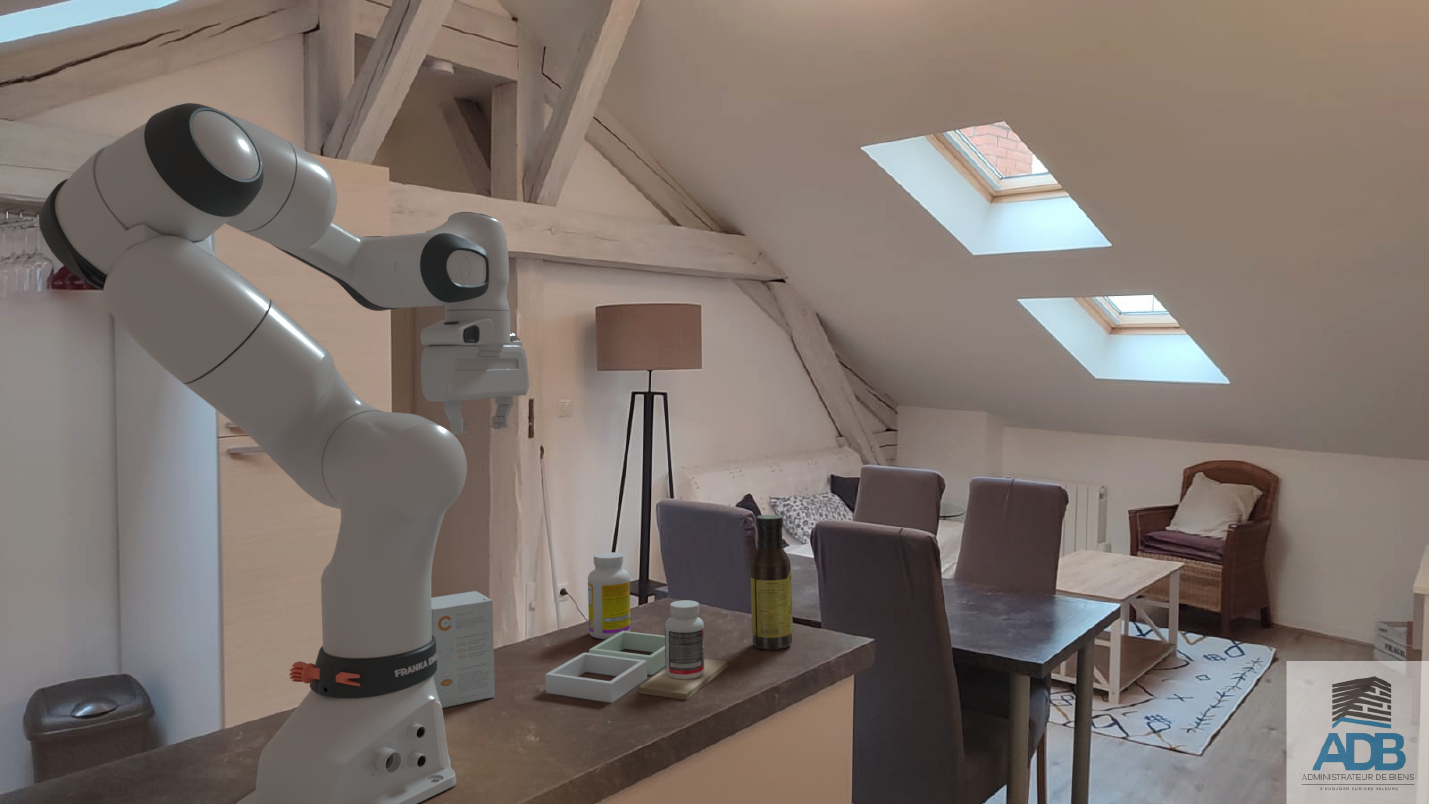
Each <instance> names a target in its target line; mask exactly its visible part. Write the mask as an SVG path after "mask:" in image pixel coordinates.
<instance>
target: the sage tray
mask: <svg viewBox="0 0 1429 804" xmlns="http://www.w3.org/2000/svg"><path fill="white" fill-rule="evenodd" d="M623 650H631V651H632V650H633V651H639V652H640V651H641V652H649V653H651V654H650V655H648V654H641V653H634V652H627V651H626V652H625V651H623ZM588 651H589V652H588V653H592V654H600V655H607V656H615V657H623V658H630V659H638V660H646V661H647V676H653V675H654V674H657V672H660V671H661V669H662V670H663V669H664V668H665V635H663V634H661V635H660V634H653V633H644V632H638V631H637V632H636V631H630V632H629V631H621V632H619V633H617V634H616V635H614V636H612V637H610V638H609V639H604V640H603V641H602V642H600V643H598V644H596V645H595V646H593V647H591V648H589V650H588Z"/></svg>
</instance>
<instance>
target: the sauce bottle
mask: <svg viewBox="0 0 1429 804" xmlns="http://www.w3.org/2000/svg"><path fill="white" fill-rule="evenodd" d="M755 518H756V519H755V520H756V524H755V525H756V527H757V542H756V543H757V548H756V550H755V551H754V553H753V554H752V557H751V560H750V604H751V605H750V607H751V633H752V645H753V646H754V647H755V648H757V649H759V650H765V651H775V650H781V649H785V648H787V647H790V646H791V645H792V642H793V636H792V635H793V630H794V629H793V602H792V601H793V600H792V599H793V597H792V596H793V595H792V594H793V593H792V566H791V560H790V557H789V556H788V554H787V553H786V551H785V549H784V548H783V544H784V542H783V530H782V529H783V525H784V518H783V516H781V515H777V514H761V515H757V516H756V517H755Z"/></svg>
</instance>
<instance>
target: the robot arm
mask: <svg viewBox="0 0 1429 804" xmlns="http://www.w3.org/2000/svg"><path fill="white" fill-rule="evenodd" d="M337 194H338V192H337V188H336V183H335V180H334V177H333V175H332V173H331V172H330V170H329V168H327V167H326V166H325V165H324V164H323V163H322V162H321V161H320V160H319V159H317V158H316V157H314V155H312V154H310V153H309V152H308V151H307V150H304V149H303V148H301V146H300V147H299V146H298V145H297V144H294V143H293V142H291V141H289V140H287V139H286V138H283V137H281V136H280V135H278V134H276V133H274V132H272V131H270V130H269V129H266V128H264V127H262V126H260V125H257V124H255V123H253V122H251V121H249V120H247V119H244V118H242V117H239V116H237V115H234V114H231V113H228V112H225V111H223V110H219V109H217V108H214V107H212V106H207V105H204V104H202V103H201V104H200V103H192V102H187V103H181V104H177V105H174V106H173V105H172V106H171V107H167V108H166V109H164V110H163V109H162V110H161V111H159V112H156V113H155V114H153V115H152V116H151V117H149V119H148V120H147V122H146V123H144V124H142V125H140V126H138V127H137V128H135V129H133V130H131V131H130V132H128V133H126V134H124V135H123V136H122V137H119V138H118V139H116V140H115V141H113V142H112V143H109V144H106V145H105V146H103V147H101V148H100V149H98V151H95V153H94V154H93V155H90V157H89V158H88V159H87V160H85V162H83V163H82V164H81V165H80V166H79V167H78V168H77V169H76V170H75V171H74V173H72V174H71V175H70V177H69V178H66V179H63V180H62V181H61V182H59V183H58V184H57V185H55V187H54V188H53V190H52V191H50V193H49V195H48V196H47V197H46V199H45V200H44V203H43V204H42V207H41V208H40V211H39V216H38V223H39V224H38V225H39V229H40V231H41V234H42V237H43V239H44V241H45V243H46V245H47V247H48V248H49V250H50V251H51V253H52V254H53V255H54V257H55V258H56V259H57V260H58V261H59V262H60V263H61V264H62V265H63V266H64V267H65V268H67V270H68V271H70V272H71V273H72V274H74V275H75V276H77V277H78V278H79V279H82V280H83V281H85V282H86V283H87V284H89V285H91V286H93V287H94V288H96V289H98V290H100V291H102V293H103V300H104V304H105V306H106V308H107V309H108V311H109V312H110V314H111V315H112V317H113V318H114V319H115V320H116V321H117V322H118V323H119V325H120V326H121V327H122V328H123V329H124V330H125V331H126V332H127V334H128V335H129V336H130V337H131V338H132V339H133V340H134V341H135V342H136V344H138V345H139V346H140V347H141V348H142V349H143V350H144V351H145V352H146V353H147V354H148V355H149V356H151V358H152V359H153V360H154V361H156V362H157V363H158V364H159V365H160V366H162V368H163V369H164V370H166V371H167V372H168V373H169V374H171V375H172V376H173V377H174V378H176V379H177V380H178V381H179V382H180V383H182V384H183V385H184V386H186V387H187V388H188V389H190V390H191V391H192V392H193V393H194V394H196V395H197V396H199V398H201V399H202V400H204V401H205V402H206V403H208V404H209V405H210V406H212V408H214V409H215V410H216V411H218V412H219V414H221V415H223V416H224V417H226V418H227V419H228V420H229V421H230V422H232V423H233V424H234V425H236V426H237V427H238V428H240V430H242V431H243V433H246V434H247V435H248V436H249V437H250V438H251V439H252V440H253V441H254V442H255V443H256V444H257V446H259V447H260V448H261V449H262V450H263V451H264V453H265V454H266V455H268V456H269V457H270V459H272V461H274V462H275V464H276V465H277V466H278V467H279V468H280V469H281V470H282V471H283V472H284V473H286V474H287V475H288V476H289V477H290V479H292V480H293V481H294V482H295V484H296V485H298V487H299V488H300V489H301V490H302V491H304V492H305V493H306V494H308V495H309V496H310V497H311V498H312V499H314V500H315V501H317V502H319V503H320V504H323V505H325V506H327V507H331V508H333V509H339V511H340V523H339V528H338V529H339V530H338V535H337V539H336V543H335V547H334V551H333V554H332V556H331V560H330V561H329V562H328V564H327V565H326V567H324V570H323V571H322V574H321V579H320V590H321V592H320V595H321V624H322V625H321V627H322V633H321V634H322V646H320V647H319V650H318V653H317V657H316V660H315V663H307V662H304V661H300V660H299V661H296V662H294V663H293V664H292V665H291V668H290V669H289V676H290V677H289V679H290V680H291V681H292V682H295V683H302V682H303V683H304V684H309V688H310V690H309V692H308V693H307V695H305V697H303V699H302V701H301V702H300V703H299V705H298V706H297V707H296V708H295V709H294V711H293V712H292V713H291V715H290V716H289V717H288V718H287V719H286V720H285V722H284V723H283V725H282V726H281V727H280V728H279V729H278V731H276V733H275V734H274V735H273V737H271V738H270V740H269V741H268V742H267V743H266V745H265V746H264V747H263V749H262V751H261V753H260V757H259V761H258V765H257V771H256V772H257V773H256V781H255V782H256V784H255V790H253V791H252V792H250V793H249V794H247V795H246V796H244V797H243V798H242V799H240V800H238V801H237V802H236V803H235V804H418V803H421V802H423V801H425V800H427V799H429V798H431V797H434V796H436V795H438V794H441V793H442V792H444V791H446V790H449V789H450V788H453V787H454V786H455V785H456V784H457V776H456V775H457V774H456V771H455V770H454V769H453V768H452V766H451V764H452V760H451V757H450V755H449V752H448V744H447V736H446V735H447V734H446V727H445V722H444V713H443V708H442V705H441V702H440V699H439V696H438V693H437V690H436V686H435V681H434V673H435V672H436V671H437V658H438V650H437V649H436V638H435V637H434V636H433V635H432V609H431V598H432V575H433V573H432V572H433V563H434V556H435V551H436V545H437V541H438V537H439V534H440V532H441V527H442V523H443V520H444V517H445V514H446V513H447V511H448V510H449V509H450V507H452V506H453V504H455V502H456V501H457V499H458V498H459V497H460V495H461V493H462V491H463V489H464V486H465V482H466V479H467V474H468V463H467V457H466V453H465V450H464V448H463V446H462V444H461V443H460V441H459V439H458V438H457V437H456V436H455V435H465V434H467V433H468V431H469V430H468V420H464V418H463V414H462V411H461V409H463V408H464V403H463V401H467V400H468V401H469V400H470V401H471V400H482V399H493V398H494V399H495V402H494V404H496V405H497V406H496V410H495V414H494V416H491V422H492V423H491V427H492V428H493V430H502V429H507V428H508V427H509V415H510V412H511V410H512V407H513V406H514V405H513V404H514V401H513V400H514V399H513V398H514V397H519V396H521V397H522V396H526V395H527V393H528V392H529V388H530V376H529V366H528V359H527V353H526V351H525V349H524V348H523V342H522V341H521V340H520V338H519V337H518V335H517V334H516V333H513V332H511V312H510V311H511V309H510V305H509V304H510V303H509V302H508V296H507V295H508V294H507V293H508V287H509V283H510V263H509V261H510V260H509V251H508V250H509V249H508V242H507V237H506V234H505V229H504V227H503V224H502V223H501V222H500V220H497V219H496V218H495V217H493V216H490V215H487V214H484V213H476V212H472V211H464V212H463V211H462V212H455V213H452V214H450V215H449V216H448V218H447V221H444V223H442V224H441V225H439V226H437V227H435V228H432V229H430V230H426V231H425V232H418V233H410V234H409V233H408V234H399V235H398V234H397V235H388V236H387V235H386V236H384V235H383V236H382V235H375V236H373V235H372V236H371V235H370V236H369V235H368V236H360V235H356V234H353V233H351V232H350V231H348V230H347V229H346V228H345V227H344V228H343V227H342V226H340V225H338V224H337V223H335V222H334V221H333V220H334V217H335V213H336V209H337V205H338V204H337V203H338V195H337ZM224 225H227V226H230V227H232V228H234V229H235V230H239V231H241V232H242V233H245V234H247V235H249V236H251V237H254V238H255V239H259V240H261V241H262V242H266V243H268V244H270V245H271V246H273V247H275V248H276V249H278V250H280V251H281V252H283V253H285V254H286V255H288V256H290V257H292V258H294V259H296V260H298V261H300V262H302V263H303V264H305V265H307V266H308V267H311V268H312V269H314V270H316V271H318V272H320V273H322V274H324V275H325V276H327V277H328V278H331V279H333V280H334V281H335V282H336V283H337V284H339V285H340V286H341V287H342V288H343V289H344V291H345V292H347V294H348V295H349V296H350V297H351V298H352V299H353V300H354V301H355V302H356V303H357V304H358V305H360V306H361V307H363V308H365V309H367V310H369V311H373V312H383V311H384V312H385V311H388V310H390V311H391V310H396V309H403V308H404V309H405V308H425V307H426V308H427V307H439V306H440V307H441V306H442V307H443V306H445V307H444V319H440V320H439V321H436V323H433V324H431V325H429V326H426V327H425V328H422V329H421V330H420V334H419V336H420V338H419V339H420V343H421V345H423V346H426V347H424V349H423V351H422V353H421V357H420V358H421V359H420V383H421V384H420V385H421V391H422V393H421V394H423V396H424V398H425V400H426V401H427V402H436V403H437V402H443V411H444V412H445V413H444V414H445V415H446V416H447V419H448V421H449V428H450V430H448V429H446V428H445V427H443V426H442V425H440V424H438V423H436V422H435V421H432V420H430V419H428V418H426V417H423V416H422V415H417V414H415V413H414V414H413V413H406V412H396V411H395V412H394V411H393V412H392V411H383V410H380V409H378V408H375V407H373V406H371V405H370V404H368V403H366V402H365V401H364V400H362V399H361V398H360V397H359V396H358V395H357V394H356V393H355V392H354V391H353V389H352V388H351V387H350V385H349V384H348V383H347V382H346V381H345V379H344V378H343V377H342V375H341V374H340V372H339V371H338V369H337V368H336V366H335V362H334V358H333V356H332V353H330V351H329V350H328V349H327V348H325V346H323V345H322V344H321V343H320V342H319V341H318V340H317V339H315V337H313V335H311V334H310V333H309V332H308V331H306V329H304V328H303V327H302V326H301V325H300V324H299V323H298V322H297V321H296V320H295V319H294V318H293V317H291V316H290V315H289V314H288V313H286V312H285V310H283V308H281V307H280V306H279V305H278V304H276V303H275V302H274V301H273V300H272V299H271V298H270V297H269V296H268V295H267V294H266V293H264V292H263V291H261V290H260V289H259V288H258V287H257V285H255V284H253V283H252V282H251V281H250V280H248V279H247V278H245V277H244V276H243V275H242V274H241V273H239V272H238V271H236V270H235V269H234V268H232V267H230V266H229V265H228V264H227V263H226V262H224V261H222V260H221V259H219V258H218V257H217V256H216V254H215V252H214V251H213V249H212V247H211V246H210V243H209V241H208V240H207V239H208V238H209V237H211V235H212V234H214V233H215V232H216V231H218V230H219V229H220V228H222V226H224Z"/></svg>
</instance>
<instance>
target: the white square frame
mask: <svg viewBox="0 0 1429 804" xmlns="http://www.w3.org/2000/svg"><path fill="white" fill-rule="evenodd" d="M585 673H592V674H597V675H598V674H599V675H606V676H613V679H611V680H602V679H595V678H590V677H589V678H588V677H582V676H581V675H584V674H585ZM614 676H615V677H614ZM647 680H648V674H647V661H646V660H638V659H630V658H623V657H615V656H607V655H600V654H592V653H589V652H582V653H581V654H579V655H577V656H575V657H574V658H572V659H570V660H568V661H566V662H564V663H563V664H561V665H559V666H557V667H556V668H554V669H552V670H551V671H548V672H547V673H545V694H551V695H557V696H564V697H570V698H577V699H585V700H590V701H599V702H603V703H611V704H612V703H614V702H616V701H617V700H618V699H620V698H622V697H623V696H625V694H627V693H628V692H630V691H632V690H633V689H634V688H635V687H637V686H640V685H641V684H642V683H643V682H644V681H647Z"/></svg>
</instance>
